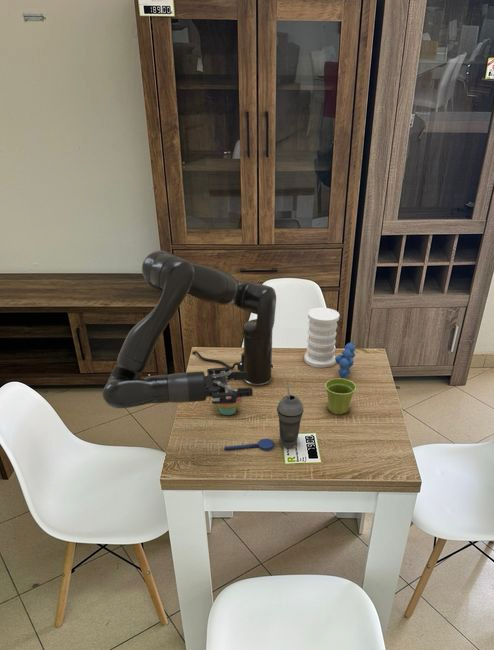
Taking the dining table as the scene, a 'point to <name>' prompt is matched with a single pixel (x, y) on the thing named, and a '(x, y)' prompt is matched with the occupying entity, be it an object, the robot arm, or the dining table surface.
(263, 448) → the spoon
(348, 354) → the grapes
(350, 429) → the dining table surface
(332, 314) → the decorative container
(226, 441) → the dining table surface
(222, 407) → the cupcake
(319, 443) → the dining table surface
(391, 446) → the dining table surface
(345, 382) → the plant pot
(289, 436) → the beverage cup
